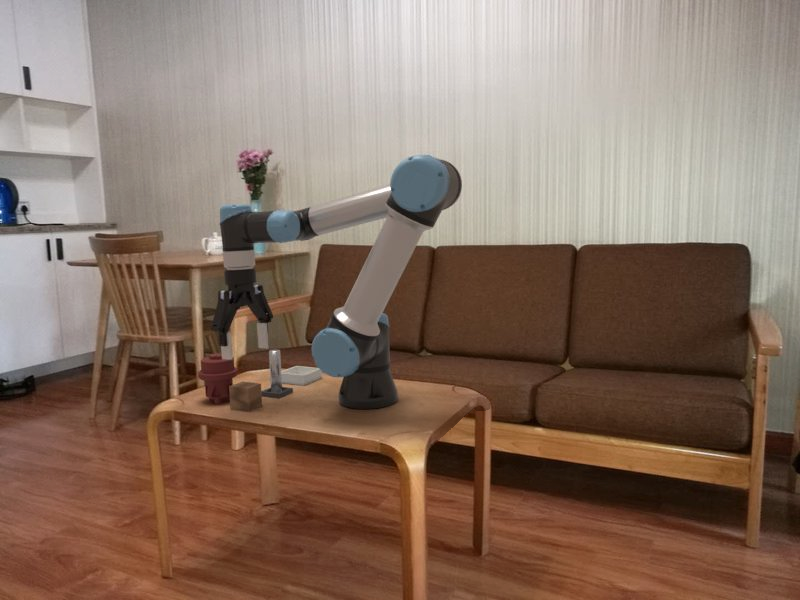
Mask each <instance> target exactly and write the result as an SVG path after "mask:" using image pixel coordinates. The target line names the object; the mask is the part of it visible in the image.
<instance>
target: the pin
mask: <svg viewBox="0 0 800 600" xmlns="http://www.w3.org/2000/svg"><path fill="white" fill-rule="evenodd" d="M268 359H269V362H268V363H269V377H270V379H269V380H270V388H271V392H275V393H279V392H281V391H282V387H283V383H282V376H281V371H282V360H281V350H280V349H271V350H269V351H268Z"/></svg>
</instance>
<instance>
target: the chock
mask: <svg viewBox="0 0 800 600" xmlns="http://www.w3.org/2000/svg"><path fill="white" fill-rule="evenodd" d="M261 391H262V383H258V382H249V381H248V382H247V381H240V382H237V383H233V385H231V386H229V394H230V400H229V405H230V410H231V411H233V410H234V411H240V412H245V413H251V412H252V411H254V410H257V409H260V408H261V407H263V396H262V392H261Z"/></svg>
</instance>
